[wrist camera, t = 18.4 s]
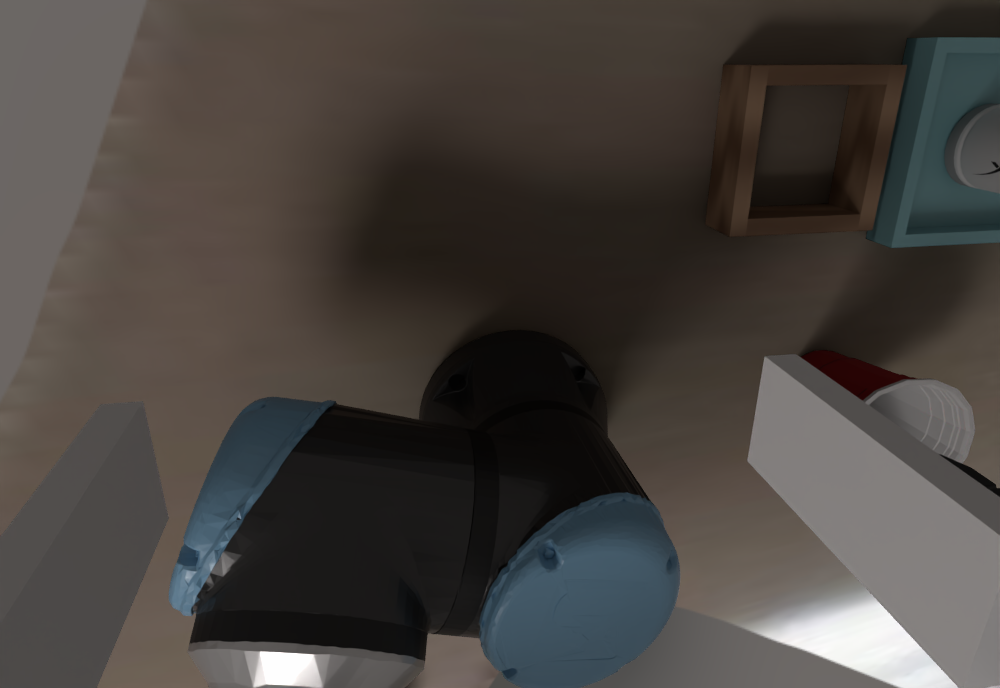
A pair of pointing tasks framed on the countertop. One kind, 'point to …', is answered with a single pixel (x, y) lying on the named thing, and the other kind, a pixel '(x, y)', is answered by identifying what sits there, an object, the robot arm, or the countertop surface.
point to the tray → (937, 147)
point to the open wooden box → (856, 156)
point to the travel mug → (976, 149)
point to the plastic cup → (906, 402)
